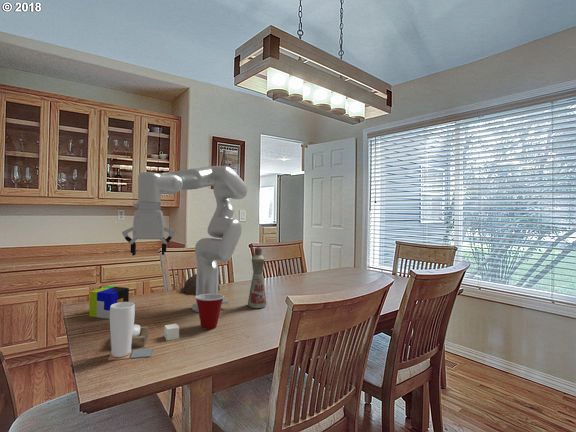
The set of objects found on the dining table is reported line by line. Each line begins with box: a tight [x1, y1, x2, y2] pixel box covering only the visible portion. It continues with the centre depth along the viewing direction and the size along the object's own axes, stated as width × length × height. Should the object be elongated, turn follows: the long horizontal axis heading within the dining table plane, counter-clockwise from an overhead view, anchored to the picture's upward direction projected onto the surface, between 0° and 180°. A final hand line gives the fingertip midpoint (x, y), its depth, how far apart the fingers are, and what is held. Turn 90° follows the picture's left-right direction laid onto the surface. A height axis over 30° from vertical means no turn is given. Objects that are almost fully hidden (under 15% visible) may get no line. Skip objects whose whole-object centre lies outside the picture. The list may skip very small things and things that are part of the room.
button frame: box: [109, 325, 149, 350], centre depth 107 cm, size 10×10×3 cm
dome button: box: [132, 323, 141, 337], centre depth 107 cm, size 6×6×4 cm
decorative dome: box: [182, 273, 221, 296], centre depth 174 cm, size 19×20×10 cm
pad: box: [107, 349, 133, 361], centre depth 97 cm, size 6×6×1 cm
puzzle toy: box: [88, 285, 130, 320], centre depth 133 cm, size 10×10×10 cm
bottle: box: [247, 246, 267, 309], centre depth 151 cm, size 9×9×28 cm
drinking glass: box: [109, 301, 136, 357], centre depth 97 cm, size 7×7×15 cm
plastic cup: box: [195, 293, 225, 330], centre depth 123 cm, size 11×11×12 cm
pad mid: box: [129, 347, 154, 360], centre depth 99 cm, size 6×6×1 cm
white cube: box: [164, 323, 180, 342], centre depth 112 cm, size 4×4×4 cm
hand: (148, 254), depth 116 cm, fingers open, 9 cm apart
